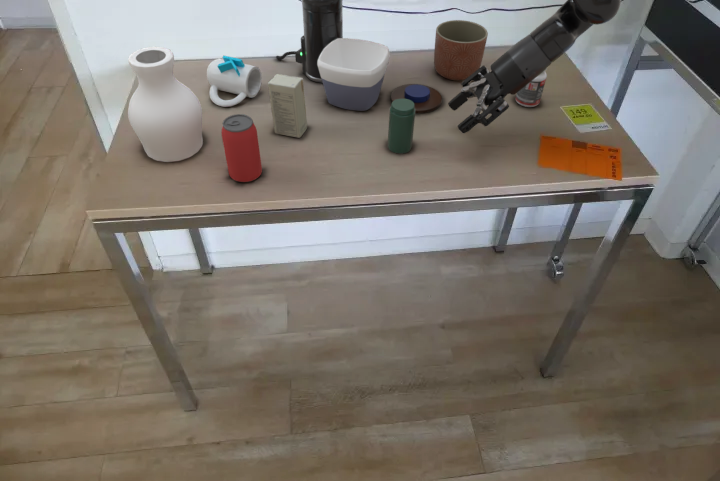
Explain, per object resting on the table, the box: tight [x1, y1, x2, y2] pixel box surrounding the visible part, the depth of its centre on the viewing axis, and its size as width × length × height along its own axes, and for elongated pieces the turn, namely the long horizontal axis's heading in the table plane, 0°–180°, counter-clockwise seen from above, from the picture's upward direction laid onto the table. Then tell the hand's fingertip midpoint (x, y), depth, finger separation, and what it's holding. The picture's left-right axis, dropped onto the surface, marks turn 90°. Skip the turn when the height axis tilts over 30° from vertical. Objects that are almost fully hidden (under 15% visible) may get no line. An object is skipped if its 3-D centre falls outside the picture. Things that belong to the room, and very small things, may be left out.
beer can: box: [221, 113, 263, 183], centre depth 108 cm, size 7×7×12 cm
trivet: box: [390, 83, 443, 114], centre depth 133 cm, size 12×12×1 cm
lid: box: [404, 83, 430, 103], centre depth 132 cm, size 6×6×2 cm
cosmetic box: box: [267, 73, 308, 139], centre depth 119 cm, size 6×4×12 cm
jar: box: [387, 98, 416, 155], centre depth 116 cm, size 5×5×10 cm
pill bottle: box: [515, 67, 548, 108], centre depth 130 cm, size 6×6×10 cm
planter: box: [433, 19, 489, 81], centre depth 139 cm, size 12×12×11 cm
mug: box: [206, 55, 263, 108], centre depth 130 cm, size 12×9×12 cm
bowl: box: [317, 37, 391, 112], centre depth 129 cm, size 15×15×11 cm
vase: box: [127, 46, 204, 163], centre depth 112 cm, size 14×14×20 cm
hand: (455, 118), depth 116 cm, fingers open, 8 cm apart
